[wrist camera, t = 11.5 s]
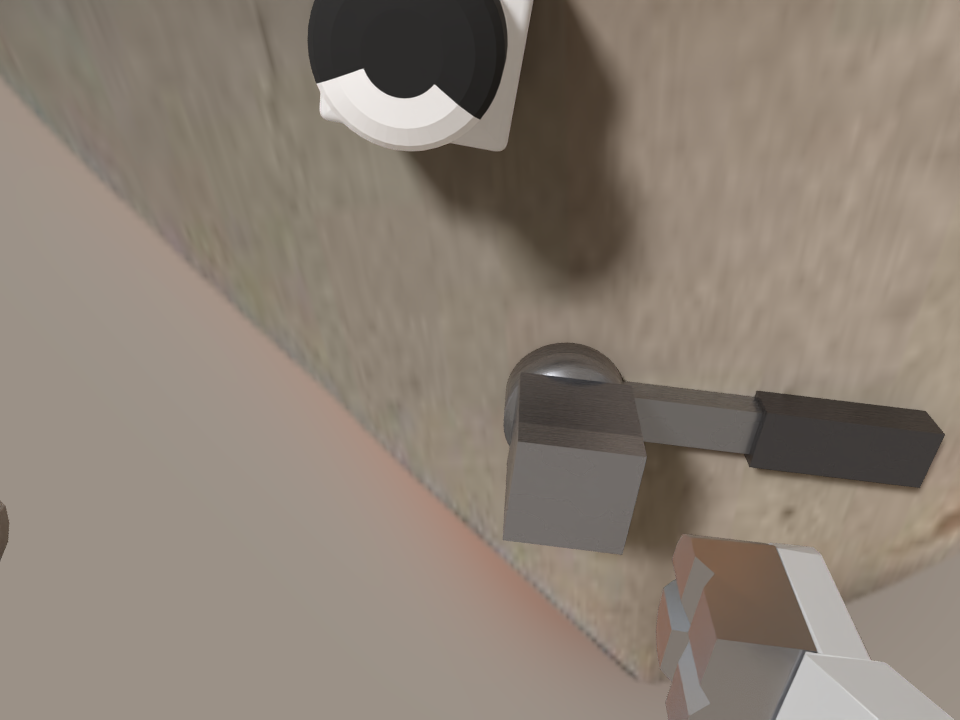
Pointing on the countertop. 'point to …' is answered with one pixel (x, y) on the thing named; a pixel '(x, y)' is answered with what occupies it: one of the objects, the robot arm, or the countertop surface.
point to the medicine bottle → (420, 69)
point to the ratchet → (760, 423)
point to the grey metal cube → (573, 464)
